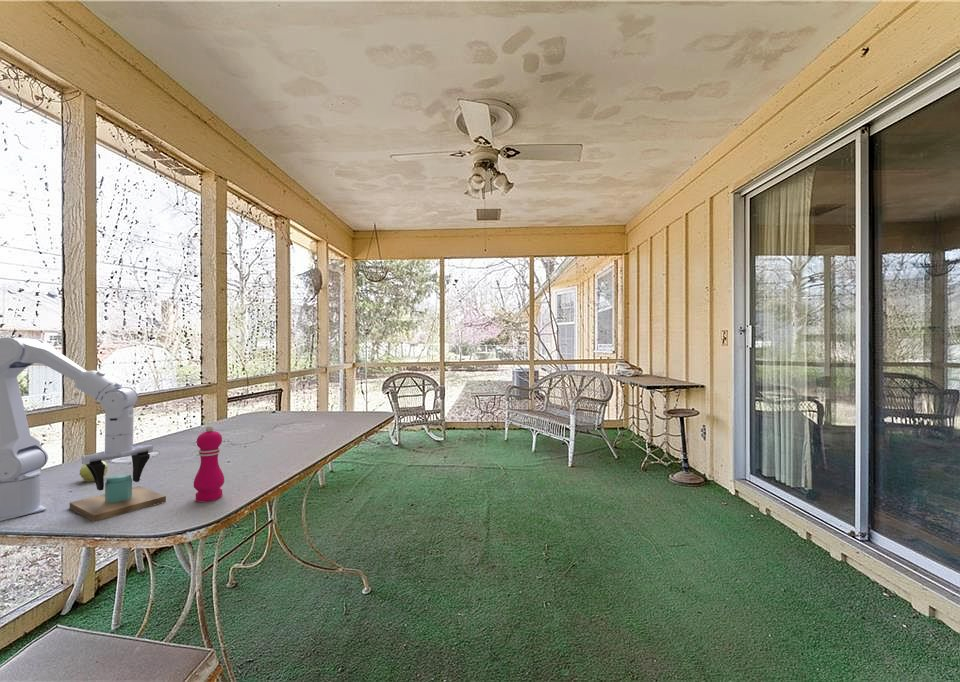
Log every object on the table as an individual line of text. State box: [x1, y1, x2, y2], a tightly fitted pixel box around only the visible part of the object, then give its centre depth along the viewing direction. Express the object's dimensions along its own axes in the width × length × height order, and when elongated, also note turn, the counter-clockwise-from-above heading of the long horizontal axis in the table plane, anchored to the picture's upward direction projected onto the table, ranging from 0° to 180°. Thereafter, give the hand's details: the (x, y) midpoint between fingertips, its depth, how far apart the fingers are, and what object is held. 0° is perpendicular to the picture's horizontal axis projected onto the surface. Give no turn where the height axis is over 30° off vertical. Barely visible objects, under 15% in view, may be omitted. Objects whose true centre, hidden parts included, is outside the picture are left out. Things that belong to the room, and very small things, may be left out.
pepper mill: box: [193, 425, 225, 503], centre depth 118 cm, size 7×7×20 cm
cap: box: [104, 473, 133, 503], centre depth 112 cm, size 5×5×6 cm
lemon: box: [79, 461, 109, 483], centre depth 133 cm, size 6×7×7 cm
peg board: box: [69, 485, 167, 522], centre depth 112 cm, size 15×16×6 cm
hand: (118, 485), depth 112 cm, fingers open, 7 cm apart
